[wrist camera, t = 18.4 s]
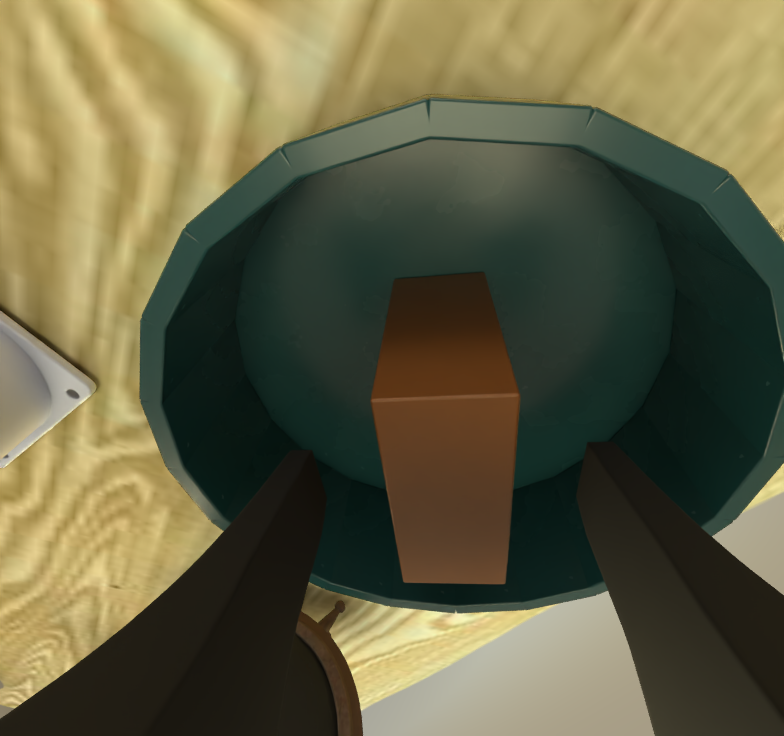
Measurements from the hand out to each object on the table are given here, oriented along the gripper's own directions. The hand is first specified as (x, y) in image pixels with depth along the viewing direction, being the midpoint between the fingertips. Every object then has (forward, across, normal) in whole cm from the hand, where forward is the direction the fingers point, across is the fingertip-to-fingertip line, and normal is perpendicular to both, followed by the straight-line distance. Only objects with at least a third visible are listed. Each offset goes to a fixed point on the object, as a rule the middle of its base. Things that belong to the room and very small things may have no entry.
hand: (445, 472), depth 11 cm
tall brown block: (+5, 0, 0) cm, 5 cm away
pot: (+6, 0, 0) cm, 6 cm away
